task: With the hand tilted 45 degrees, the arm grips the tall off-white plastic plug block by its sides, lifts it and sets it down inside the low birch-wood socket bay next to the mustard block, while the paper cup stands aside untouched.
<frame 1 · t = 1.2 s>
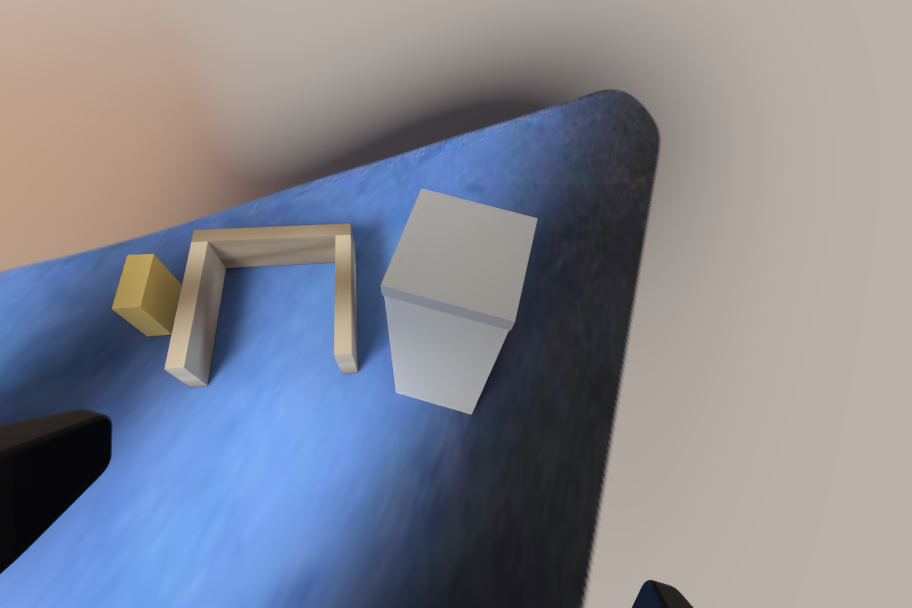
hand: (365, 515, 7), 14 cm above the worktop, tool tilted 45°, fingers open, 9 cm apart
white plug: (444, 367, 23), on the worktop
mustard block: (165, 310, 23), on the worktop
bay: (281, 310, 23), on the worktop
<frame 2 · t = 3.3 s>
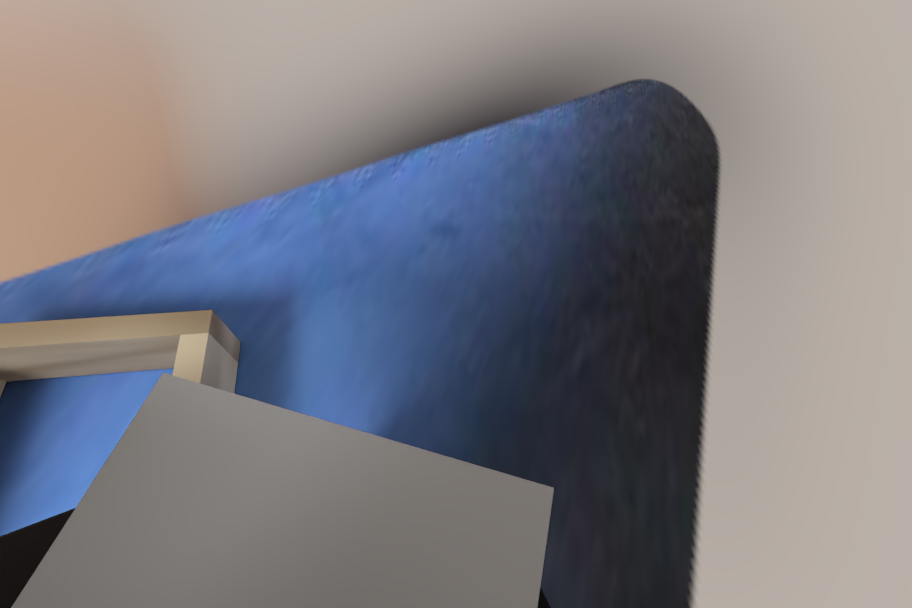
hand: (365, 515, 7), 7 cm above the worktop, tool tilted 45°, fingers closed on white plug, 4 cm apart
white plug: (372, 580, 12), on the worktop, touching gripper
bay: (88, 464, 13), on the worktop
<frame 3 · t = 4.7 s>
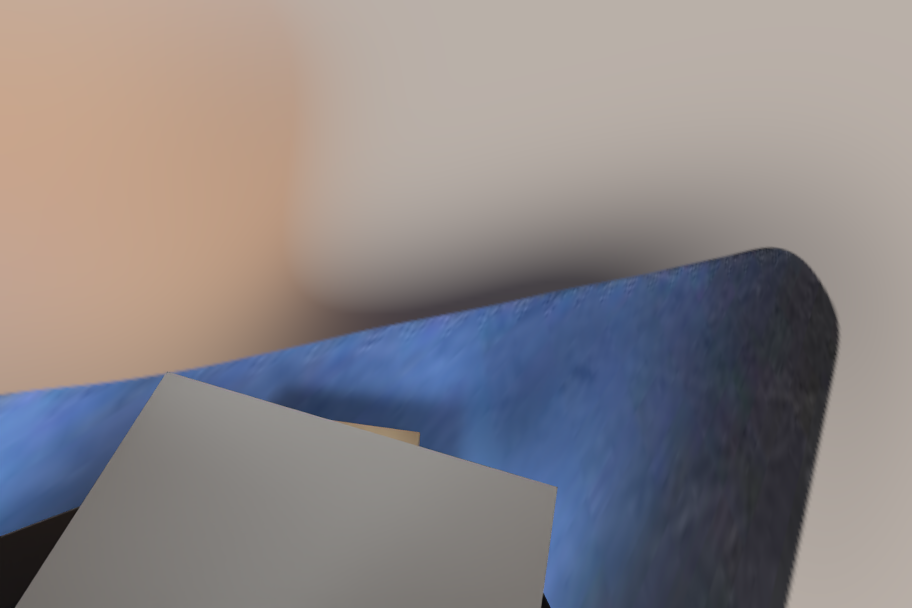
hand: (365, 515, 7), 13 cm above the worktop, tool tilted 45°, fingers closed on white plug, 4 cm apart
white plug: (374, 580, 12), point 6 cm above the worktop, touching gripper
bay: (311, 522, 18), on the worktop
when the fingers open (8 cm above the worktop, at t = 6.1 s): white plug drops 1 cm, on the worktop.
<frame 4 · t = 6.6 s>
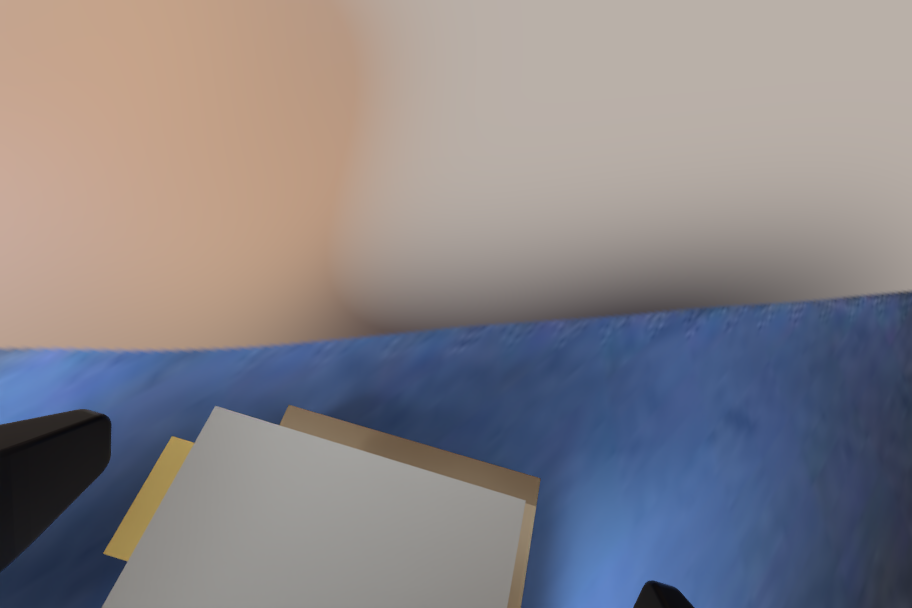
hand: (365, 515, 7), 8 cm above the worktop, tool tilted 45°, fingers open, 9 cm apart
white plug: (376, 576, 14), on the worktop
mustard block: (207, 505, 14), on the worktop
bay: (376, 576, 14), on the worktop
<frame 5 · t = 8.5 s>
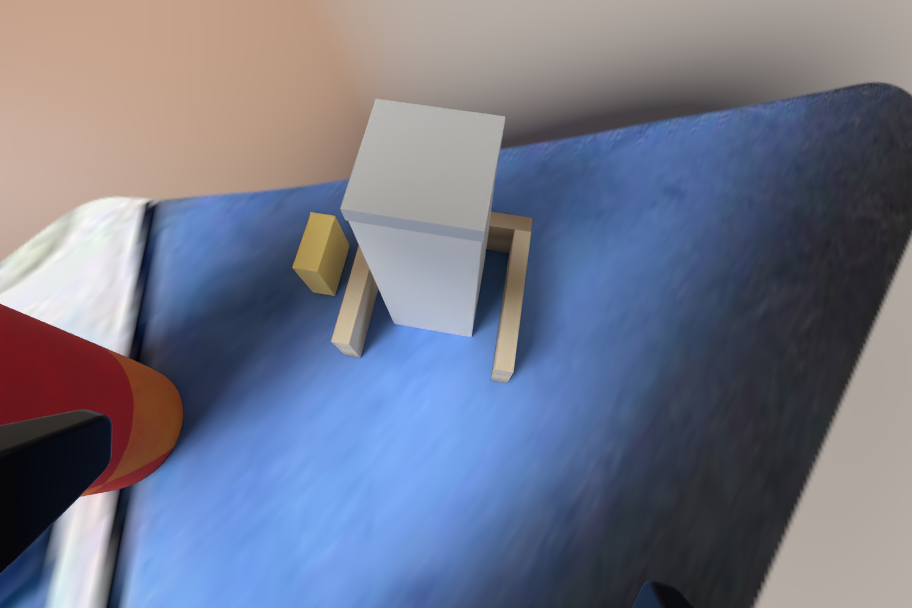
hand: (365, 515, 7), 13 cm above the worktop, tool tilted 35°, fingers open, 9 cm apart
white plug: (440, 294, 22), on the worktop
paper cup: (128, 427, 20), on the worktop
mustard block: (331, 268, 23), on the worktop
bay: (440, 294, 22), on the worktop
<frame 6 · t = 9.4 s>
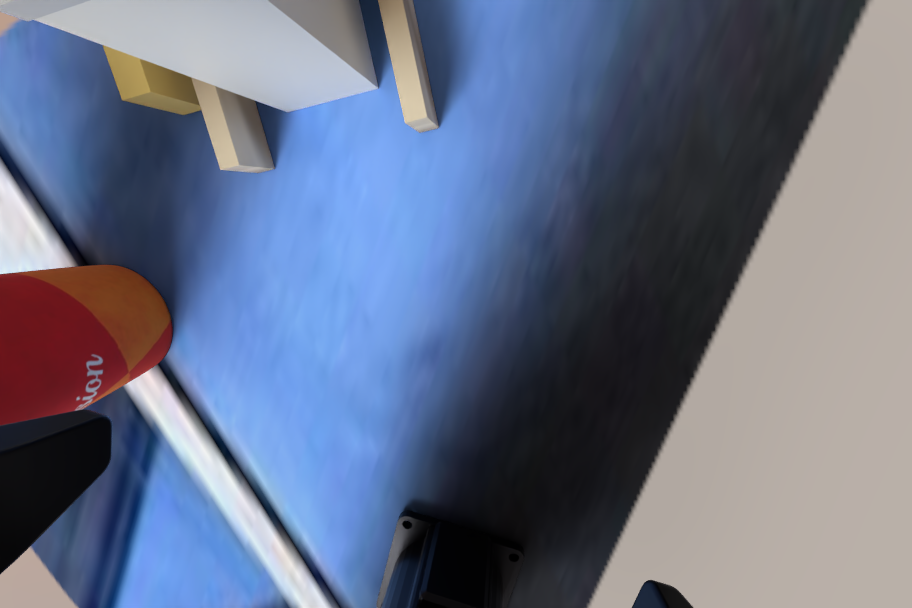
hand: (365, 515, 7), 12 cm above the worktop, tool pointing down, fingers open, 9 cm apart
white plug: (319, 47, 17), on the worktop
paper cup: (126, 318, 21), on the worktop
mustard block: (183, 73, 18), on the worktop
bay: (318, 47, 17), on the worktop
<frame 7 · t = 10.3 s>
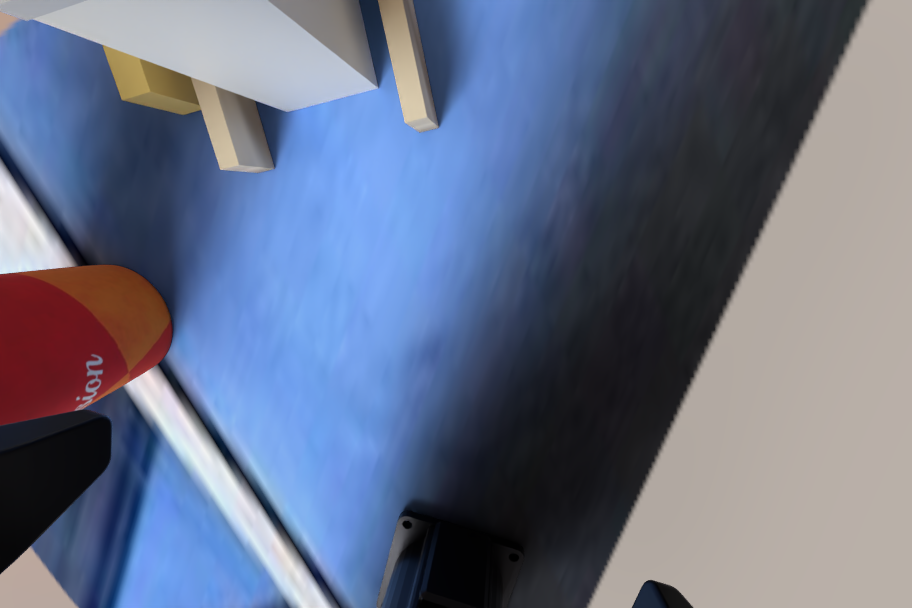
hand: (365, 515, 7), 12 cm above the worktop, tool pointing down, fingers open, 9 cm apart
white plug: (318, 47, 17), on the worktop
paper cup: (126, 318, 21), on the worktop
mustard block: (183, 73, 18), on the worktop
bay: (318, 46, 17), on the worktop
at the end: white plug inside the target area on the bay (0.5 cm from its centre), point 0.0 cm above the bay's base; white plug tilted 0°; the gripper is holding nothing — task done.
